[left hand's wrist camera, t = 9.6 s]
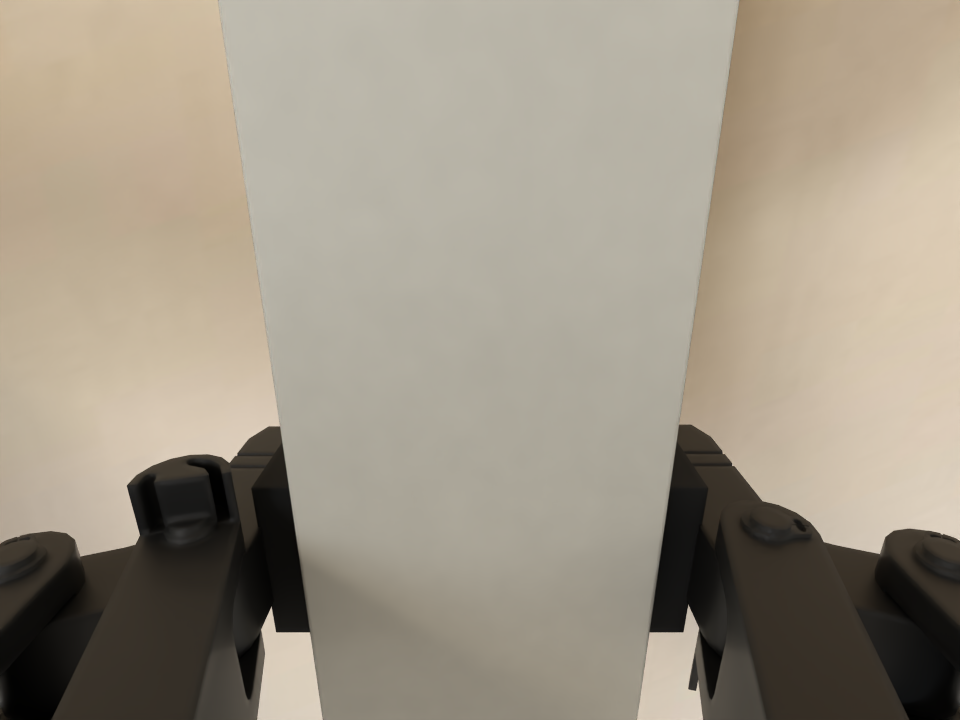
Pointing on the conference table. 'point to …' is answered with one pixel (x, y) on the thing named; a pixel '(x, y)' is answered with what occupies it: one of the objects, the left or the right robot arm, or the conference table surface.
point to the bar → (479, 330)
